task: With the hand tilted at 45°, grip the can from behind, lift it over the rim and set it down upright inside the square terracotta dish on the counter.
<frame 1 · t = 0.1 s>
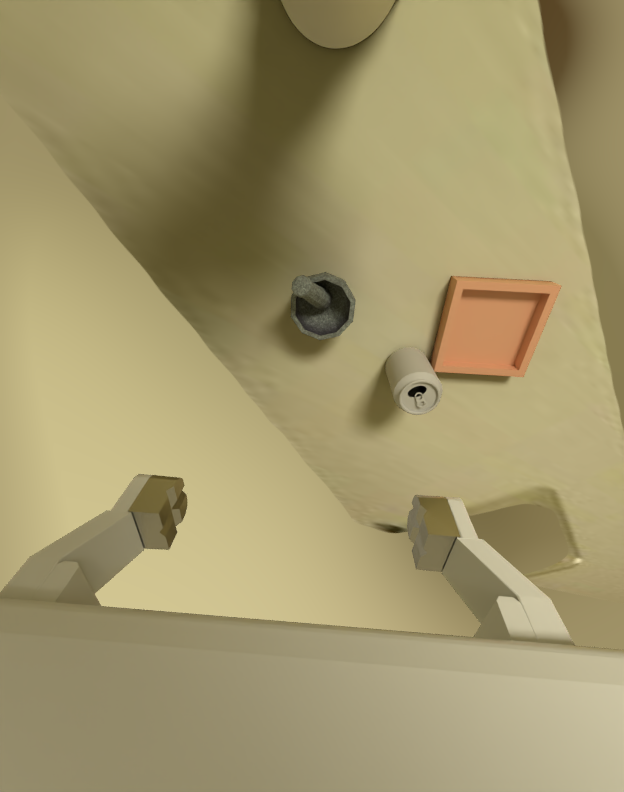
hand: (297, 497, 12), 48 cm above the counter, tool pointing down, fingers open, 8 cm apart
can: (405, 363, 62), on the counter
mortar and pestle: (321, 292, 56), on the counter
dish: (485, 325, 57), on the counter
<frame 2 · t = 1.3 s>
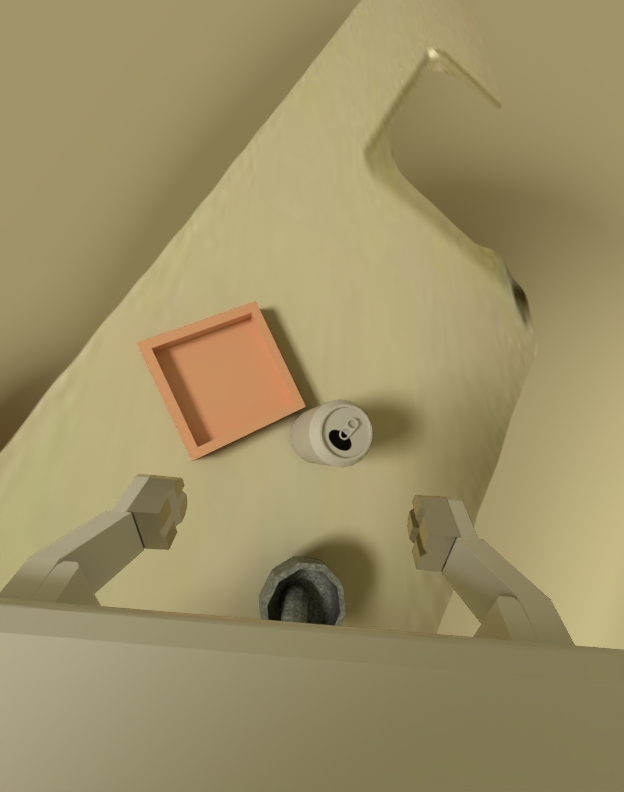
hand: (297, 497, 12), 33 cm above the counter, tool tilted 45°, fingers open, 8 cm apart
can: (315, 436, 47), on the counter
mortar and pestle: (288, 589, 43), on the counter
dish: (225, 380, 45), on the counter
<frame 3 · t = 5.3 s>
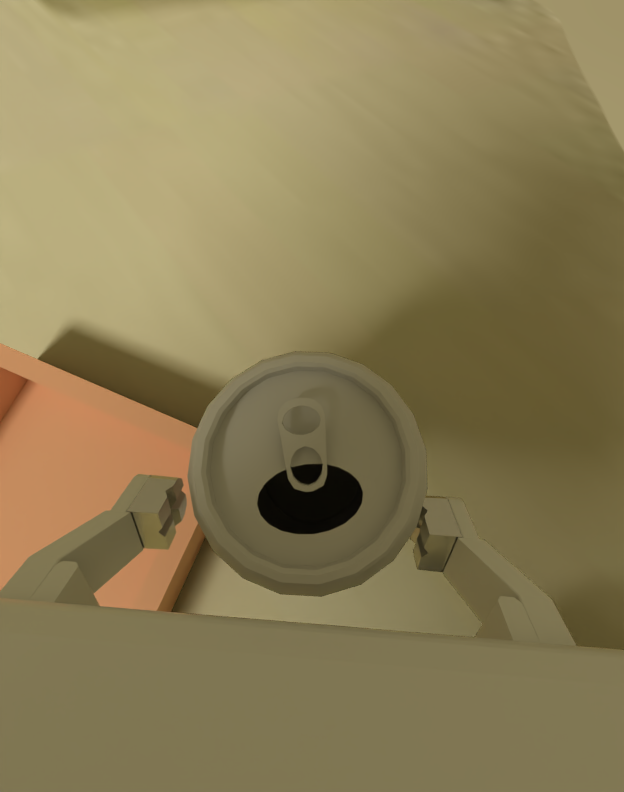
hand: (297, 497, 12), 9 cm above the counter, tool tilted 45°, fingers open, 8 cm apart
can: (311, 471, 21), on the counter, touching gripper
dish: (73, 519, 20), on the counter
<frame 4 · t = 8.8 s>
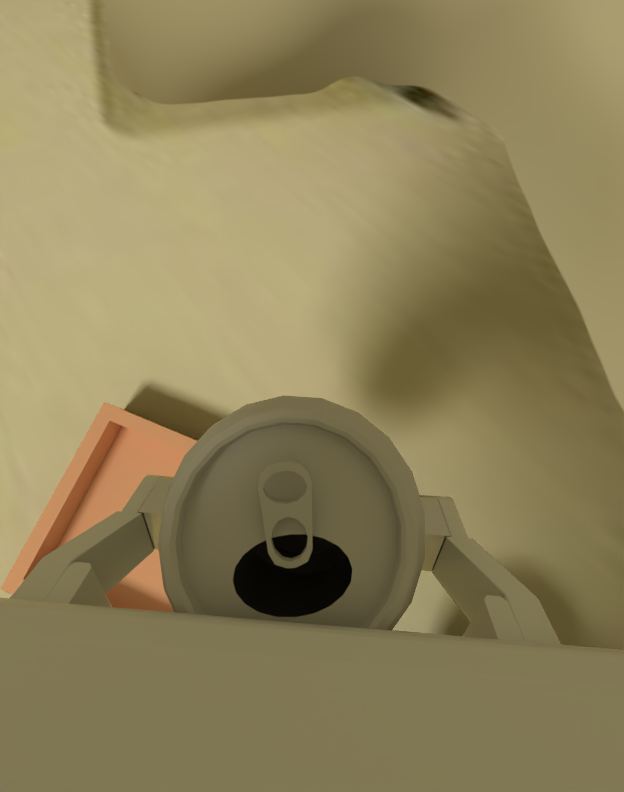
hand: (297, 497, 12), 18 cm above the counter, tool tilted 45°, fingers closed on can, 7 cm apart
can: (303, 498, 20), point 10 cm above the counter, touching gripper
dish: (157, 522, 29), on the counter
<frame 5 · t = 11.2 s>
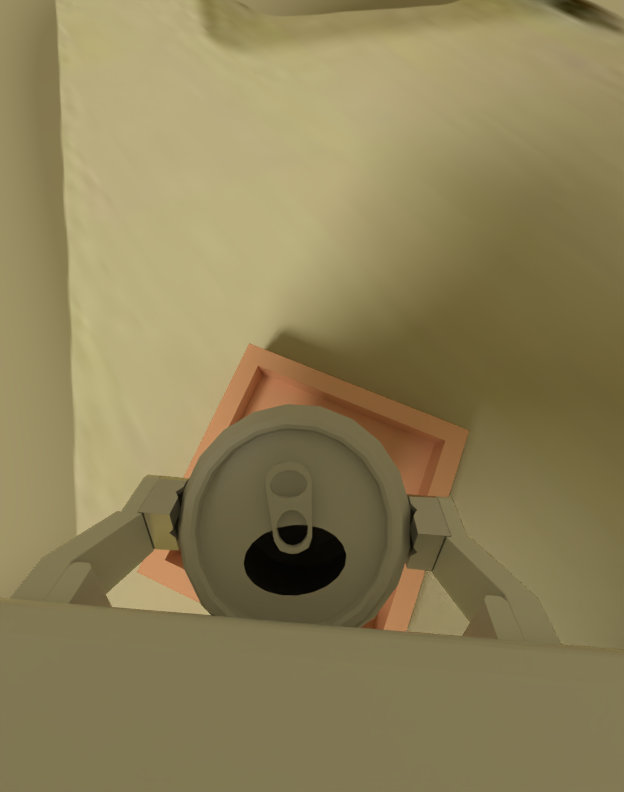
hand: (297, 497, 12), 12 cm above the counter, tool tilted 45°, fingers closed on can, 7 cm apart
can: (304, 497, 21), point 2 cm above the counter, touching gripper
dish: (310, 495, 23), on the counter
when the fingers open (10 cm above the counter, at t = 12.5 s): can stays where it is, resting on dish.
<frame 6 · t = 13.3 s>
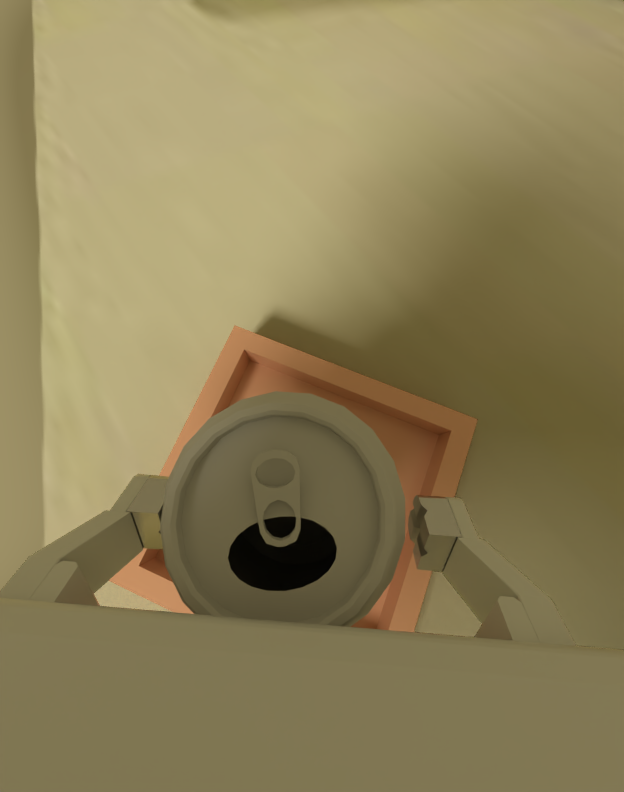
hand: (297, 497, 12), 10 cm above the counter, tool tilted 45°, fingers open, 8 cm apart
can: (298, 493, 20), point 1 cm above the counter, touching dish
dish: (303, 493, 21), on the counter
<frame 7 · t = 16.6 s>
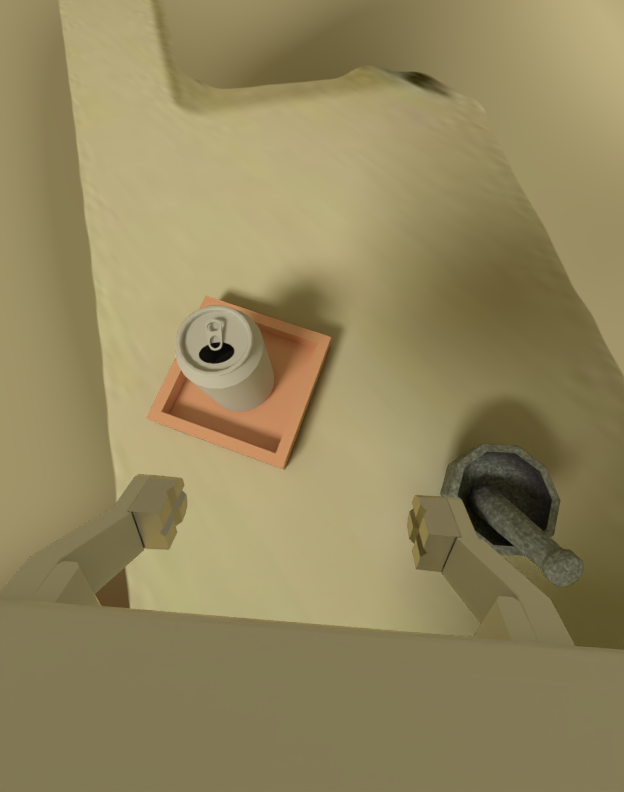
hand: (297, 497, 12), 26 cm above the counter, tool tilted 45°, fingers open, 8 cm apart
can: (243, 382, 39), point 1 cm above the counter, touching dish
mortar and pestle: (471, 501, 37), on the counter
dish: (246, 384, 40), on the counter
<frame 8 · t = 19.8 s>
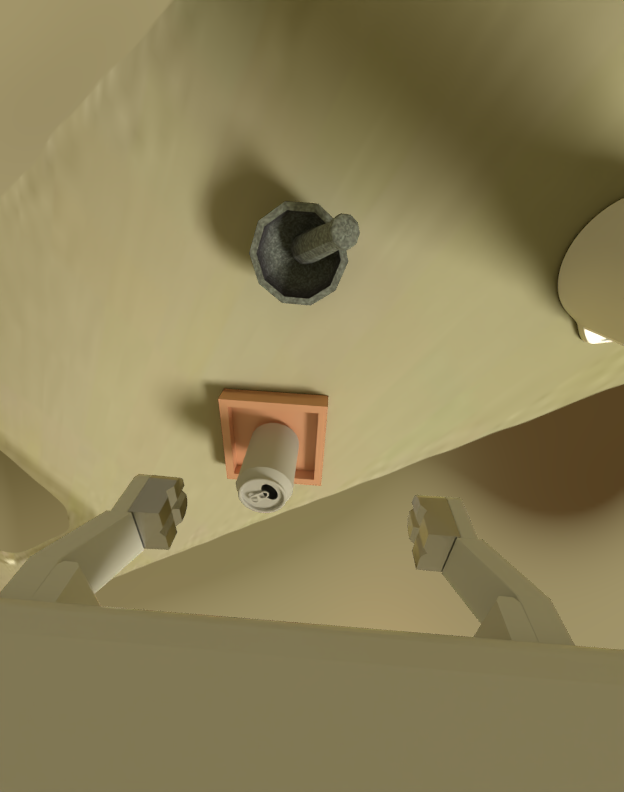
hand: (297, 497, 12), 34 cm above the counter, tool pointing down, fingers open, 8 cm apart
can: (276, 437, 53), point 1 cm above the counter, touching dish
mortar and pestle: (309, 243, 39), on the counter
dish: (276, 433, 54), on the counter
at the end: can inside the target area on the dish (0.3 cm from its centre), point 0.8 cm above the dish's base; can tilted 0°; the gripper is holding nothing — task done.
